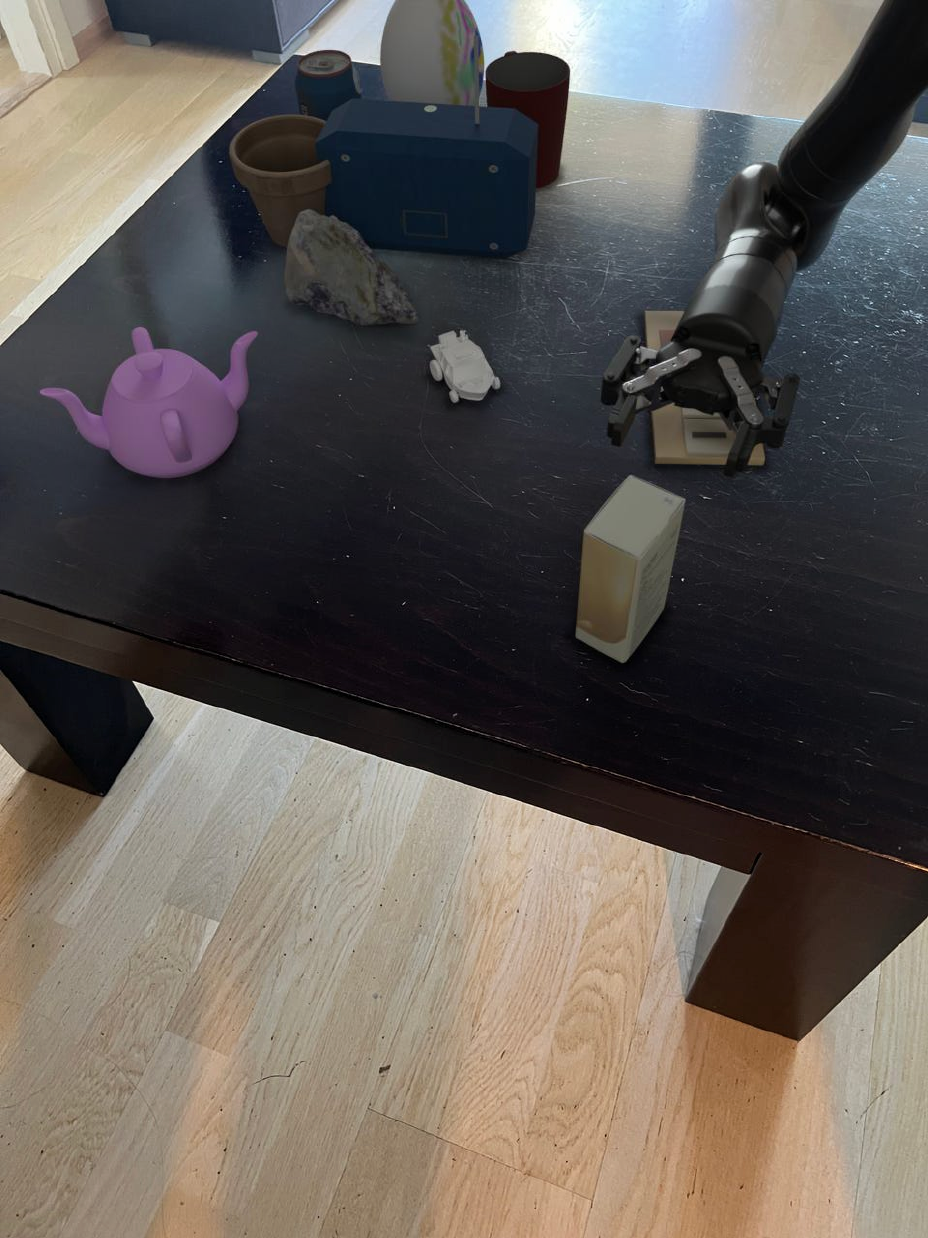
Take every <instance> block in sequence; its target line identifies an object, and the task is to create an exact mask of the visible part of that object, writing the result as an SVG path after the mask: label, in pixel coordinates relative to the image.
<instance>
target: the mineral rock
mask: <svg viewBox="0 0 928 1238" xmlns="http://www.w3.org/2000/svg"><path fill="white" fill-rule="evenodd" d="M285 257H286V258H285V269H284V276H283V279H284V284H285V287H286V288H285V295H286V298H287V300H288V302H290V303H291V304H292V305H294V306H298V305H300V306H305V305H306V306H309V307H310V308H311V309H314V310H316V312H317V313H322V314H327V315H333V316H336V317H337V318H340V319H342V320H348V321H350V322H352V323H354V324H355V325H357V326H363V327H364V326H365V327H366V326H374V325H386V324H395V323H398V324H405V325H414V324H417V323H418V322H419V315H418V312H417V310H416V308H415V306H414V302H413V299H412V298H411V297H410V296H409V295H408V293H407V290H406V288H405V287H404V284H403V282H402V281H401V280H400V278H399V277H398V275H397V274H396V272H395V271H394V270H393V269H392V268H391V267H390V266H389V265H388V264H387V263H386V262H384V261H383V260H382V259H380V258H379V257H377V256H376V255H374V253H373V251H372V248H369V246H367V244H366V243H365V242H364V241H363V239H362V237H361V235H360V233H359V232H358V231H357V230H355V229H354V228H353V227H351V226H350V225H348V224H347V223H344V222H341V221H339V220H338V218H337V217H335V216H333V215H332V216H330V217H327V216H324V215H320V214H319V213H317V212H315V211H313V210H310V209H308V210H305V211H302V212H299V215H298V217H297V219H296V221H295V225H294V227H293V229H292V232H291V235H290V238H289V242H288V247H287V248H286V256H285Z"/></svg>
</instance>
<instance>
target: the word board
mask: <svg viewBox="0 0 928 1238" xmlns="http://www.w3.org/2000/svg"><path fill="white" fill-rule="evenodd" d="M684 311H685V310H644V314H643V323H644V335H645V348H648V349H651V350H655V351H659V350H660V349H661V348H663V347H665V346H666V345H668V344H669V342H670V340H671V338H672V336H673V334H674V331H675V329H676V327H677V325H678V323H679V321H680V319H681V317H682V315H683V313H684ZM649 368H651V367H647V370H648V369H649ZM662 390H663V388H662V387H661V391H662ZM753 401H754V403H755V405H756V406H757V404H756V403H757V402H756V397H755V398H753ZM650 416H651V418H650V419H651V428H652V429H651V430H652V431H651V432H652V443H653V446H652V447H653V457H654V464H656V465H657V464H658V465H714V466H715V465H716V466H719V465H720V466H726V461H727V458H728V455H729V452H730V449H731V447H732V444H733V442H734V439H735V437H736V435H735V433H734V431H733V430H731V431H729V430H728V428H727V426H726V425H725V423H724V421H723V420H722V418H721V416H720V415H719V413H714V415H709V414H705V413H702V412H700V411H698V410H696V409H689V408H681V407H677V406H674V403H672V404H669V405H667V406H665V407H662V408H660V409H658V410H655V411H651V410H650ZM765 461H766V455H765V449H764V443H761V444H757V445H756V446H755V447H754V449H753V452H752V454H751V457H750V460H749V462H748V465H747V466H764V464H765Z"/></svg>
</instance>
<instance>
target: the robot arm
mask: <svg viewBox="0 0 928 1238" xmlns="http://www.w3.org/2000/svg"><path fill="white" fill-rule="evenodd" d="M927 91H928V0H883V1H882V3H881V4H880V6H879V7H878V10H877V12H876V13H875V15H874V17H873V19H872V20H871V23H870V24H869V26H868V27H867V29H866V31H865V33H864V35H863V37H862V39H861V40H860V42H859V44H858V46H857V47H856V50H855V52H854V53H853V55H852V56H851V58H850V60H849V62H848V63H847V65H846V66H845V68H844V70H843V71H842V73H841V74H840V75H839V77H838V79H837V80H836V82H834V84H833V85H832V87H831V88H830V90H829V91H827V94H826V95H825V96H824V97H823V98H822V100H821V101H820V102H819V103H818V105H816V107H815V108H814V109H813V110H812V112H811V113H810V115H808V116H807V118H806V119H805V120H804V121H803V122H802V124H801V125H800V127H799V128H798V129H797V130H796V132H795V133H794V134H793V135H792V137H790V139H789V140H788V142H787V143H786V144H785V146H784V148H783V149H782V151H781V153H780V155H779V158H778V160H777V165H776V164H774V163H771V162H768V161H757V162H752V163H750V164H748V165H745V166H744V167H743V168H741V169H740V170H738V171H737V173H736V174H734V175H733V177H732V178H731V179H730V180H729V182H728V184H727V185H726V186H725V189H724V191H723V193H722V195H721V197H720V199H719V203H718V207H717V210H716V215H715V224H714V249H715V250H714V256H713V258H712V261H711V262H710V265H709V266H708V269H707V271H706V273H705V275H704V276H703V277H702V278H701V280H700V281H699V283H698V284H697V286H696V287H695V289H694V291H693V293H692V294H691V297H690V299H689V301H688V303H687V305H686V307H685V309H684V310H683V311H684V313H683V315H682V317H681V319H680V321H679V323H678V325H677V327H676V329H675V331H674V334H673V336H672V338H671V340H670V342H669V344H668V345H666V346H665V347H663V348H661V349H660V350H659V351H655V350H651V349H648V348H646V347H644V346H642V338H641V337H640V336H638V335H630V336H627V337H626V338H625V340H624V341H623V343H622V345H621V346H620V348H619V349H618V351H617V352H616V354H615V356H614V357H613V359H612V360H611V361H610V364H609V365H608V367H607V368H606V369H605V371H604V372H603V374H602V384H601V392H600V403H601V404H602V405H604V406H606V407H607V406H609V407H610V406H613V408H612V410H611V412H610V414H609V415H608V419H607V428H606V436H607V438H610V439H611V441H610V445H611V446H614V447H618V448H621V447H622V445H623V443H624V441H625V439H626V437H627V435H628V433H629V431H630V429H631V427H632V425H633V422H634V421H635V418H636V415H638V414H640V413H642V412H644V411H647V410H650V412H651V411H655V410H658V409H660V408H662V407H665V406H667V405H669V404H672V403H674V406H677V407H681V408H689V409H696V410H698V411H700V412H702V413H705V414H709V415H714V413H719V415H720V416H721V418H722V420H723V421H724V423H725V425H726V426H727V428H728V430H729V431H731V430H733V431H734V433H735V435H736V437H735V439H734V442H733V444H732V447H731V449H730V452H729V455H728V458H727V461H726V465H724V470H723V474H722V475H723V476H726V477H729V478H734V475H735V473H736V472H738V473H741V474H742V473H744V471H746V469H747V468H748V466H749V465H748V462H749V460H750V457H751V454H752V452H753V449H754V447H755V446H756V445H757V444H761V443H763V444H766V446H767V447H769V448H770V449H774V450H775V449H776V450H777V449H780V448H782V446H783V444H784V441H785V437H786V433H787V429H788V427H789V425H790V422H791V418H792V413H793V409H794V405H795V401H796V397H797V394H798V390H799V385H800V381H801V377H800V375H799V374H797V373H795V372H787V373H785V374H784V376H783V378H782V379H778V378H775V377H769V376H765V375H764V372H763V370H762V369H763V367H764V365H765V362H766V359H767V357H768V354H769V351H770V349H771V347H772V345H773V343H774V341H775V340H776V338H777V336H778V328H779V326H780V323H781V321H782V317H783V313H784V306H785V303H786V300H787V297H788V295H789V292H790V291H791V287H792V285H793V283H794V280H795V277H796V274H797V273H798V272H802V271H805V270H807V269H808V268H810V267H811V266H813V265H814V264H815V263H816V262H817V261H818V260H819V259H820V257H821V256H822V255H823V254H824V252H825V250H826V249H827V247H828V246H829V243H830V241H831V240H832V238H833V235H834V233H835V231H836V228H837V226H838V223H839V221H840V218H841V215H842V213H843V212H844V210H845V208H846V207H847V206H848V204H849V203H850V202H851V200H852V199H853V198H854V197H855V195H856V194H858V192H859V191H861V189H863V188H864V186H866V185H867V183H869V182H870V181H871V180H872V179H873V178H874V177H875V176H877V174H878V173H879V172H880V171H881V170H882V169H883V168H884V167H885V166H886V165H887V163H888V162H890V160H891V159H892V157H893V156H894V155H895V154H896V153H897V151H898V150H899V149H900V147H901V146H902V144H903V142H904V141H905V139H906V137H907V135H908V134H909V130H910V128H911V125H912V123H913V120H914V115H915V111H916V106H917V103H918V102H919V100H920V99H921V98H922V96H924V94H925V93H926V92H927ZM648 367H651V368H649V369H648ZM646 368H647V370H646V371H645V373H644V374H643V375H640V374H639V373H641V372H643V371H644V370H645V369H646ZM639 375H640V376H639ZM632 377H635V378H634V379H631V378H632ZM661 387H662V388H663V390H662V391H661ZM759 394H761V395H763V396H764V397H765V399H766V400H765V401H766V403H767V404H768V408H769V410H770V411H773V414H772V417H764V416H763V414H762V413H761V411H760V410H759V408H758V407H757V404H756V405H755V403H754V401H753V398H755V399H756V398H757V396H759Z"/></svg>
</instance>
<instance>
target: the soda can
mask: <svg viewBox="0 0 928 1238" xmlns="http://www.w3.org/2000/svg"><path fill="white" fill-rule="evenodd" d="M296 66H297V71H296V74H295V78H294V88H295V93H296V100H297V104H298V105H297V106H298V109H299V110H298V111H299V115H305V116H311V117H315V118H319V119H321V120H324V121H327V119H328V118H329V116H330V114H331V112H332V111H333V110H334V109H336V108H338V107H339V106H341V105H343V104H344V103H346V102H348V101H349V100H351V99H353V98H354V99H363V97H362V91H361V82H360V75H359V73H358V70H357V69H356V68H355V66H354V65H353V63H352V58H351V56H350V55H349V54H348V53H346V52H344V51H342V50H337V49H321V50H315V51H311V52H309V53H307V54H305V55H303V56H302V57H301V58H299V60H298V61H297V65H296Z"/></svg>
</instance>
